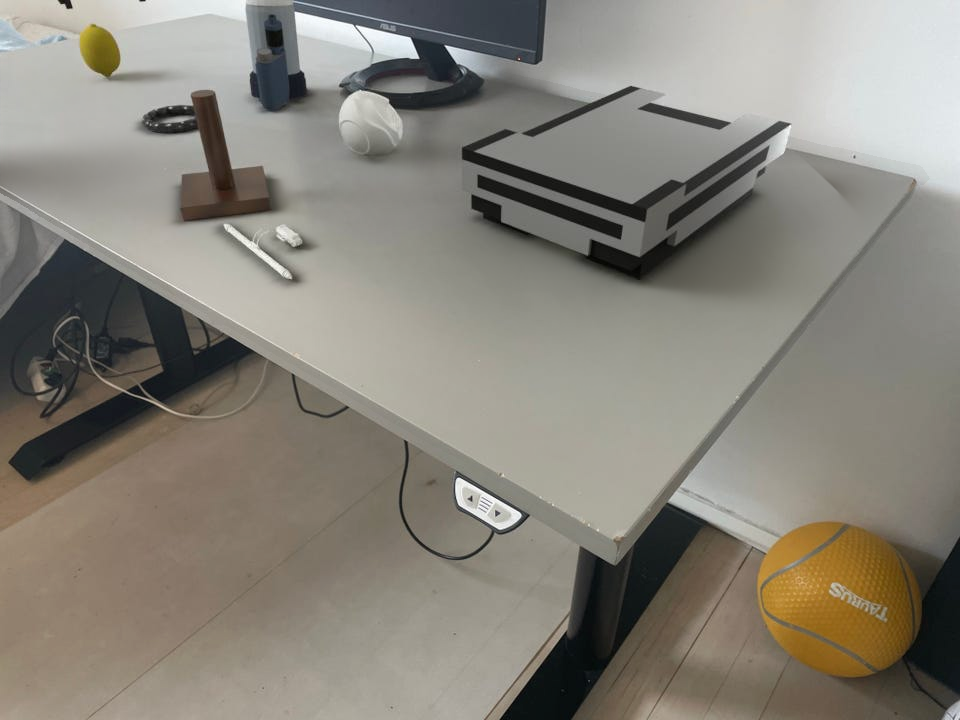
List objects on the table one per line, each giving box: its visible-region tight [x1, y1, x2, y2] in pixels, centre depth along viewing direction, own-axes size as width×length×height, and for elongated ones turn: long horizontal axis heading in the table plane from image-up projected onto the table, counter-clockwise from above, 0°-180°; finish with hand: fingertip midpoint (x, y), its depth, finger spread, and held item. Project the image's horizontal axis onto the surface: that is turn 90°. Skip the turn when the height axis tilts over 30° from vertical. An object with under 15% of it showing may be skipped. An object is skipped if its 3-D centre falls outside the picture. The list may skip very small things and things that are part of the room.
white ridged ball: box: [338, 90, 403, 158], centre depth 88 cm, size 8×8×8 cm
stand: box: [179, 89, 272, 222], centre depth 76 cm, size 9×9×12 cm
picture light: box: [223, 223, 303, 280], centre depth 70 cm, size 14×4×2 cm, turn 41°
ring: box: [141, 104, 198, 134], centre depth 98 cm, size 8×8×1 cm
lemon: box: [78, 23, 121, 78], centre depth 113 cm, size 6×6×8 cm
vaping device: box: [255, 14, 291, 112], centre depth 100 cm, size 3×5×12 cm, turn 156°
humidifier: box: [244, 0, 308, 100], centre depth 101 cm, size 8×8×25 cm
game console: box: [461, 85, 793, 281], centre depth 77 cm, size 21×32×8 cm, turn 139°
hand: (106, 4), depth 90 cm, fingers open, 8 cm apart
